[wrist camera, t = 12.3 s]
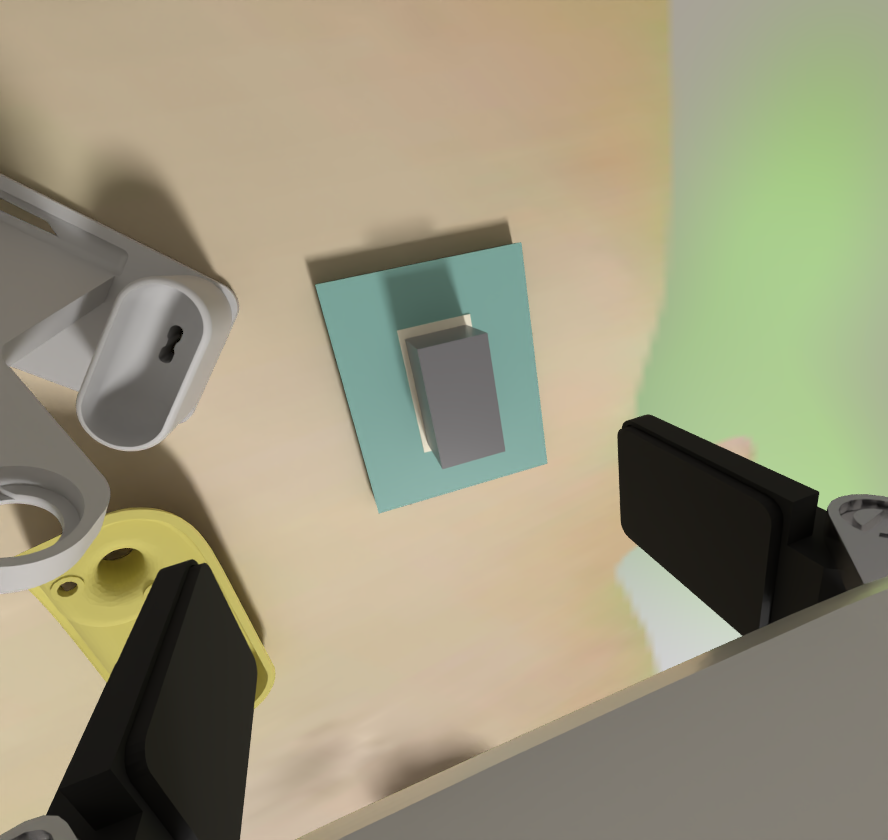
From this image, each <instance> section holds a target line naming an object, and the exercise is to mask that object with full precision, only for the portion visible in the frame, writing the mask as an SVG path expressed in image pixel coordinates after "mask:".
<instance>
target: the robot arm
mask: <svg viewBox="0 0 888 840" xmlns="http://www.w3.org/2000/svg"><path fill="white" fill-rule="evenodd" d="M618 463H619V489H620V514H621V525H622V528H623V530H624V532H625V534H626V535H627V536H628V537H629V538H630V539H631V540H632V541H633V542H635V543H636V544H637V545H638V546H639V547H640V548H642V549H643V550H644V551H645V552H646V553H647V554H649V555H650V556H651V557H652V558H653V559H654V560H655V561H657V562H658V563H659V564H660V565H661V566H662V567H664V568H665V569H666V570H667V571H668V572H669V573H671V574H672V575H673V576H674V577H675V578H676V579H678V580H679V581H680V582H681V583H682V584H683V585H684V586H685V587H687V588H688V589H689V590H690V591H691V592H692V593H694V594H695V595H696V596H697V597H698V598H699V599H701V600H702V601H703V602H704V603H705V604H706V605H707V606H709V607H710V608H711V609H712V610H713V611H714V612H716V613H717V614H718V615H719V616H720V617H721V618H723V619H724V620H725V621H726V622H727V623H728V624H730V625H731V626H732V627H733V628H734V629H735V630H737V631H738V632H739V633H740V634H741V635H742V637H740V638H737V639H735V640H733V641H730V642H728V643H726V644H724V645H721V646H719V647H717V648H714V649H712V650H710V651H708V652H705V653H703V654H701V655H699V656H697V657H694V658H692V659H690V660H688V661H685V662H683V663H681V664H678V665H676V666H674V667H672V668H669V669H667V670H665V671H663V672H660V673H658V674H656V675H654V676H652V677H649V678H647V679H645V680H643V681H640V682H638V683H636V684H634V685H632V686H629V687H627V688H625V689H623V690H620V691H618V692H616V693H614V694H612V695H609V696H607V697H605V698H603V699H600V700H598V701H596V702H594V703H592V704H589V705H587V706H585V707H583V708H581V709H578V710H576V711H574V712H572V713H569V714H567V715H565V716H563V717H561V718H558V719H556V720H554V721H552V722H550V723H547V724H545V725H543V726H541V727H539V728H536V729H534V730H532V731H530V732H527V733H525V734H523V735H521V736H519V737H516V738H514V739H512V740H510V741H508V742H505V743H503V744H501V745H499V746H497V747H494V748H492V749H490V750H488V751H486V752H483V753H481V754H479V755H477V756H475V757H473V758H470V759H468V760H466V761H464V762H462V763H459V764H457V765H455V766H453V767H451V768H449V769H446V770H444V771H442V772H440V773H438V774H435V775H433V776H431V777H429V778H427V779H425V780H422V781H420V782H418V783H416V784H414V785H411V786H409V787H407V788H405V789H403V790H401V791H398V792H396V793H394V794H392V795H390V796H387V797H385V798H383V799H381V800H379V801H377V802H374V803H372V804H370V805H368V806H366V807H363V808H361V809H359V810H357V811H355V812H353V813H350V814H348V815H346V816H344V817H342V818H339V819H337V820H335V821H333V822H331V823H329V824H327V825H325V826H323V827H320V828H318V829H316V830H314V831H312V832H310V833H308V834H306V835H304V836H302V837H300V838H297V839H295V840H888V497H884V496H876V495H868V494H859V495H858V494H856V495H848V496H842V497H838V498H837V499H835V500H833V501H831V503H830V504H829V506H828V508H827V511H826V510H824V509H821V508H819V507H817V503H818V497H819V492H818V491H816V490H814V489H812V488H810V487H808V486H805V485H803V484H801V483H799V482H797V481H794V480H792V479H790V478H788V477H786V476H783V475H781V474H779V473H777V472H775V471H773V470H770V469H768V468H766V467H764V466H762V465H759V464H757V463H755V462H753V461H751V460H748V459H746V458H744V457H742V456H740V455H738V454H735V453H733V452H731V451H729V450H727V449H724V448H722V447H720V446H718V445H716V444H713V443H711V442H709V441H707V440H705V439H702V438H700V437H698V436H696V435H694V434H692V433H689V432H687V431H685V430H683V429H681V428H678V427H676V426H674V425H672V424H670V423H667V422H665V421H663V420H661V419H659V418H657V417H654V416H652V415H644V416H641V417H637V418H634V419H631V420H628V421H625V422H624V423H623V426H622V429H620V430H619V432H618ZM256 685H257V665H256V661H255V658H254V655H253V653H252V651H251V649H250V647H249V645H248V643H247V641H246V639H245V637H244V635H243V633H242V631H241V629H240V627H239V625H238V623H237V621H236V619H235V617H234V615H233V613H232V611H231V609H230V607H229V605H228V603H227V601H226V599H225V597H224V595H223V592H222V590H221V588H220V586H219V584H218V582H217V580H216V578H215V576H214V574H213V572H212V570H211V568H210V567H209V565H208V564H207V563H202V564H198V562H197V561H195V560H193V559H190V560H187V561H184V562H181V563H178V564H175V565H172V566H168V567H165V568H162V569H160V570H159V572H158V573H157V576H156V578H155V580H154V582H153V584H152V587H151V589H150V591H149V593H148V595H147V597H146V600H145V602H144V604H143V606H142V608H141V611H140V613H139V615H138V617H137V619H136V622H135V624H134V626H133V628H132V630H131V632H130V635H129V637H128V639H127V641H126V643H125V646H124V648H123V650H122V652H121V654H120V657H119V659H118V661H117V663H116V664H115V666H114V668H113V670H112V672H111V675H110V677H109V679H108V681H107V683H106V685H105V688H104V690H103V692H102V694H101V696H100V699H99V701H98V703H97V705H96V707H95V709H94V712H93V714H92V716H91V718H90V720H89V723H88V725H87V727H86V729H85V731H84V733H83V736H82V738H81V740H80V742H79V744H78V746H77V749H76V751H75V753H74V755H73V757H72V760H71V762H70V764H69V766H68V768H67V770H66V773H65V775H64V777H63V779H62V781H61V784H60V786H59V788H58V790H57V792H56V794H55V797H54V799H53V801H52V803H51V805H50V807H49V810H48V812H47V814H46V815H43V816H40V817H37V818H34V819H31V820H28V821H25V822H23V823H21V824H19V825H17V826H16V827H14V828H12V829H10V830H9V831H7V832H5V833H3V834H2V835H1V836H0V840H240V833H241V824H242V815H243V805H244V796H245V787H246V777H247V768H248V759H249V750H250V740H251V731H252V722H253V712H254V703H255V694H256Z"/></svg>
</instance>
